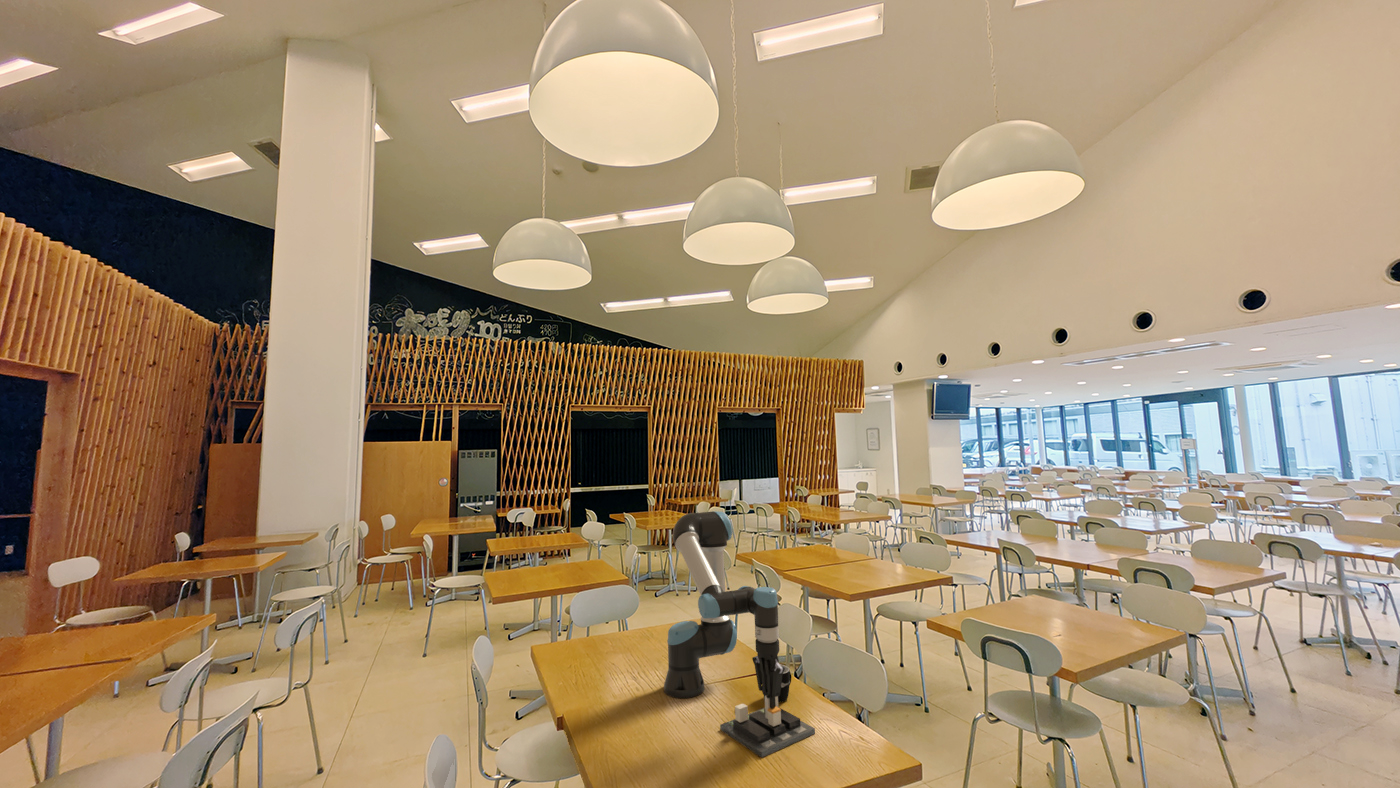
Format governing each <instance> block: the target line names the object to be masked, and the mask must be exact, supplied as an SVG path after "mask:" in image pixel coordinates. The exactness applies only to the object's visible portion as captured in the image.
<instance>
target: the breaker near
mask: <svg viewBox="0 0 1400 788" xmlns="http://www.w3.org/2000/svg"><path fill="white" fill-rule="evenodd" d="M748 709H749V708H748V704H747V705H746V704H745V703H740V704H737V705H735V706H734V715H735V718H734V719H735V720H737V721H738V722H743V721H746V720H748V714H749V710H748Z"/></svg>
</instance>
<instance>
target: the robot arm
mask: <svg viewBox="0 0 1400 788" xmlns="http://www.w3.org/2000/svg"><path fill="white" fill-rule="evenodd" d="M732 535H733V527H732V523H731V520H730V518H729V517H728V515H727V514H726V513H725V512H723V511H716V510H715V511H713V510H712V511H706V512H705V511H703V512H689V513H686V514H684V515H682V516H681V517H680V518H678V519H677V521H676V523H675V525H674V527H673V531H672V541H673V544H674V547H675V549H676V550H677V551H678V552H680V554H681V555H682V558H683V560H684V562H685V564H686V566H687V569H688V571H689V573H690V575H691V577H692V580H693V582H694V584H695V587H696V588H697V591H698V592H699V595H700V596H698V600H697V607H698V611H699V612H698V613H699V614H700V616H701V617H700V624H698V622H697V621H694V620H688V621H687V620H685V621H684V620H683V621H679V622H677V623H675V624H673V625H672V626H671V627H669V629H668V631H667V658H668V659H667V661H668V663H667V664H668V670H667V672H666V677H665V680H664V685H663V690H664V694H666V695H667V696H668V697H671V698H676V699H689V698H694V697H697V696H700V695H702V694H703V692H704V691H705V681H704V677H703V674H702V671H701V669H700V659H702V658H708V657H713V656H714V657H715V656H719V655H720V656H722V655H723V656H724V655H725V654H728V653H731V652H733V650H734V649H735V648H736V646H737V640H738V639H737V638H738V630H737V629H736V627H737V626H736V624H735V622H734V621H733V620H732V619H731V616H735V615H741V614H749V613H750V614H752V615H754V633H755V634H754V635H755V636H754V637H755V652H756V656H753V657H751V659H752V662H753V665H754V669H755V675H756V682H757V687H758V690H759V691H760V692H762V695H763V703H764V708H765V718H767V719H768V709H769V708H775V706H776V705H775V697H777V696H779V695H780V691H781V683H782V675H783V672H784V670H785V668H784V666H782V667H781V666H780V664H781V663H779V661H780V659H779V656H778V654H779V652H780V640H779V637H780V633H779V606H778V604H779V601H778V592H777V590H776V589H775V588H774V587H769V586H759V587H756V588H755V587H752V586H748V585H742V586H740V587H739V588H738V589H735V590H728V591H726V576H725V574H726V573H725V555H724V554H725V553H724V551H725V549H726V548H727V547H728V541H730V540H731V539H732Z"/></svg>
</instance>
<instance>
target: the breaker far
mask: <svg viewBox="0 0 1400 788" xmlns="http://www.w3.org/2000/svg"><path fill="white" fill-rule="evenodd" d="M775 705H776V706H777V707H779V702H778V696H777V697H775Z"/></svg>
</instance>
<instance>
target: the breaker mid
mask: <svg viewBox="0 0 1400 788" xmlns="http://www.w3.org/2000/svg"><path fill="white" fill-rule="evenodd" d="M778 707H779V706H778ZM778 707H777V706H775V708H769V709H768V724H770V725H772V726H773V727H774V726H776V725H779V724H781V709H782V708H781V707H779V708H778ZM780 708H781V709H780Z"/></svg>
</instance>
